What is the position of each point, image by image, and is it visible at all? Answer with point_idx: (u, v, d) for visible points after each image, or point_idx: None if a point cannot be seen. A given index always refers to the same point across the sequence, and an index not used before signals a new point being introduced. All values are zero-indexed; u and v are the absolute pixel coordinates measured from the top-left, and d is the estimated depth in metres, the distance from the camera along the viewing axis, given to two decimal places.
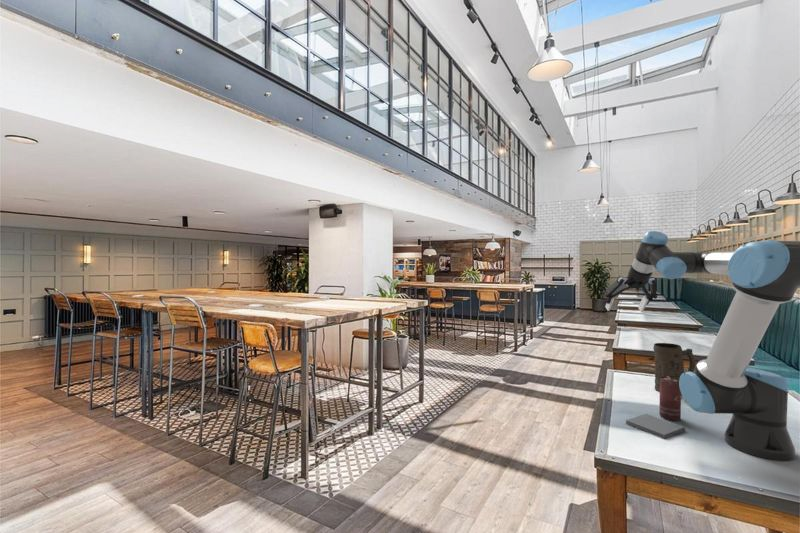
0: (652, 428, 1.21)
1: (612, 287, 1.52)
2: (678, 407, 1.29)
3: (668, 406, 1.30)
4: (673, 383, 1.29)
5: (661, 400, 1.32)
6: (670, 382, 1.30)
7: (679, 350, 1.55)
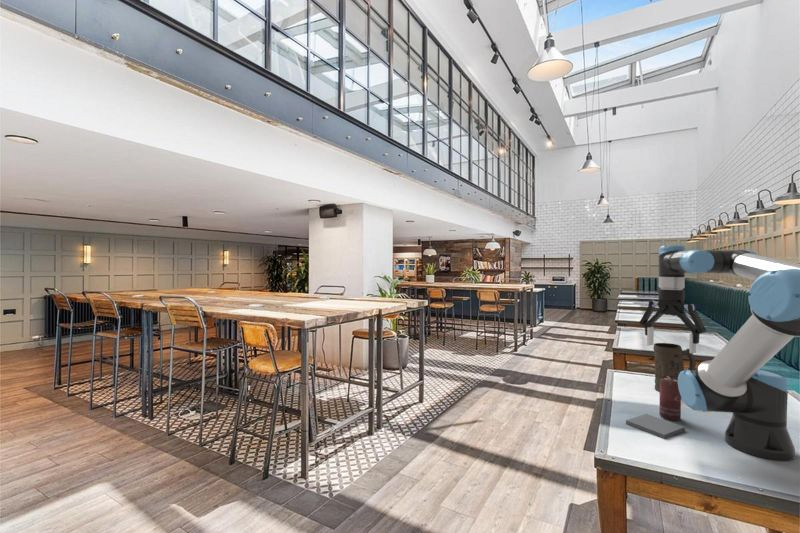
0: (652, 428, 1.21)
1: None
2: (678, 407, 1.29)
3: (668, 406, 1.30)
4: (673, 383, 1.29)
5: (661, 400, 1.32)
6: (670, 382, 1.30)
7: (679, 350, 1.55)
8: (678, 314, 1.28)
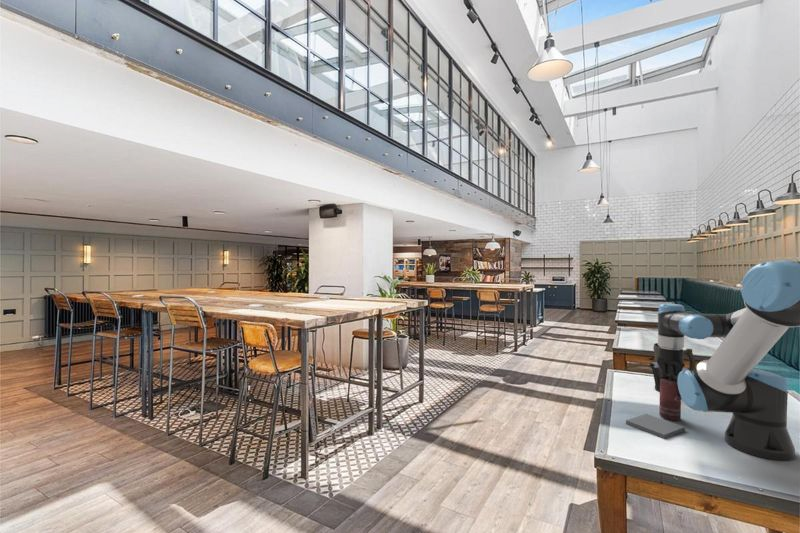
0: (652, 428, 1.21)
1: None
2: (678, 407, 1.29)
3: (668, 406, 1.30)
4: (673, 383, 1.29)
5: (661, 400, 1.32)
6: (670, 382, 1.30)
7: None
8: (672, 375, 1.30)
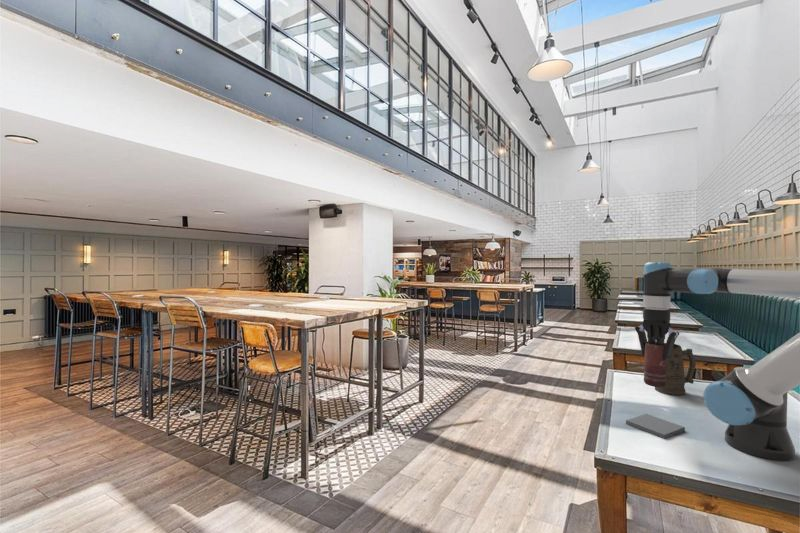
0: (652, 428, 1.21)
1: None
2: (663, 373, 1.22)
3: (652, 371, 1.23)
4: (658, 347, 1.22)
5: (646, 365, 1.25)
6: (655, 346, 1.22)
7: (679, 350, 1.55)
8: (657, 337, 1.22)
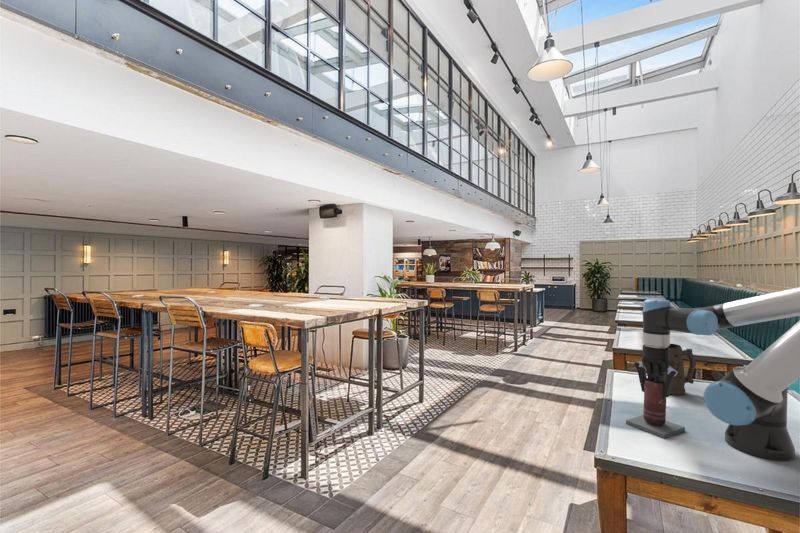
0: (652, 428, 1.21)
1: None
2: (663, 411, 1.22)
3: (652, 409, 1.23)
4: (658, 385, 1.22)
5: (646, 402, 1.25)
6: (655, 384, 1.22)
7: (679, 350, 1.55)
8: (657, 375, 1.23)
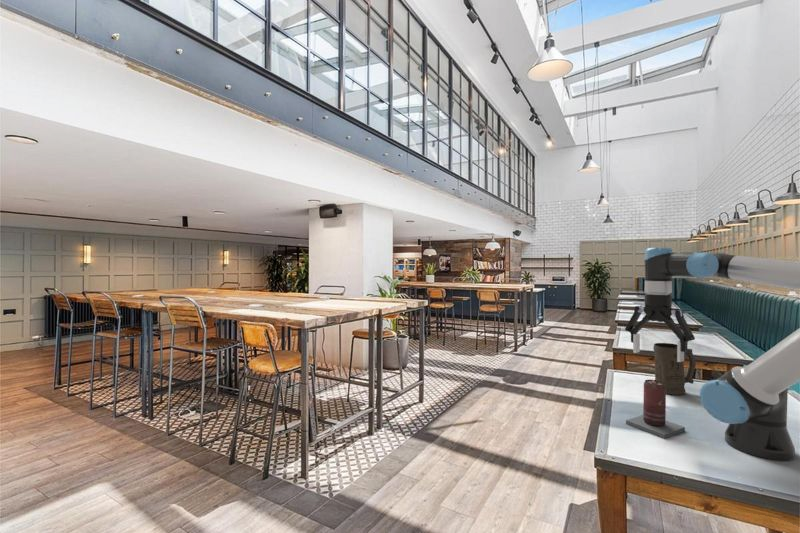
0: (652, 428, 1.21)
1: None
2: (662, 412, 1.22)
3: (651, 411, 1.23)
4: (657, 387, 1.22)
5: (645, 404, 1.25)
6: (654, 386, 1.23)
7: None
8: (665, 320, 1.22)
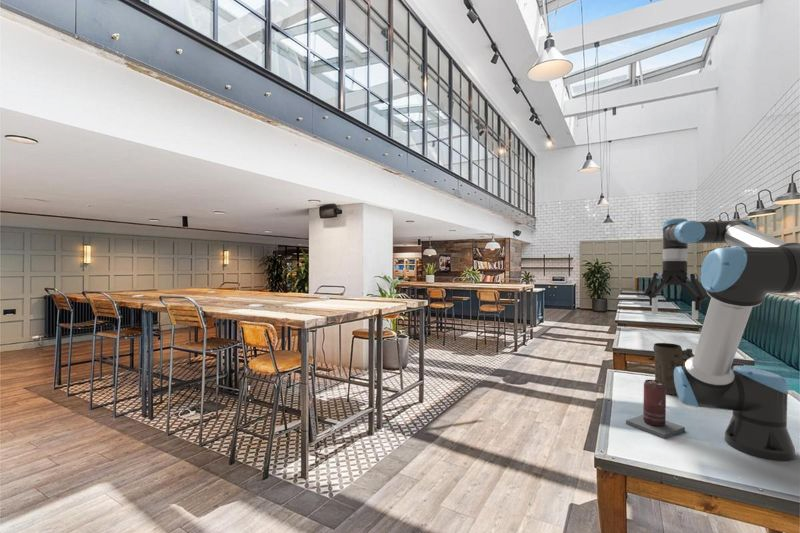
0: (652, 428, 1.21)
1: None
2: (662, 412, 1.22)
3: (651, 411, 1.23)
4: (657, 387, 1.22)
5: (645, 404, 1.25)
6: (654, 386, 1.22)
7: (679, 350, 1.55)
8: (681, 283, 1.36)
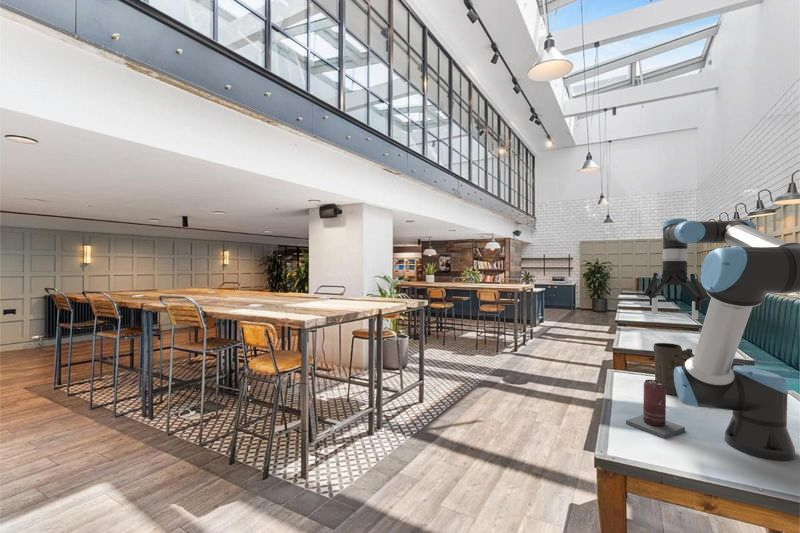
0: (652, 428, 1.21)
1: None
2: (662, 412, 1.22)
3: (651, 411, 1.23)
4: (657, 387, 1.22)
5: (645, 404, 1.25)
6: (654, 386, 1.23)
7: (679, 350, 1.55)
8: (681, 283, 1.36)
